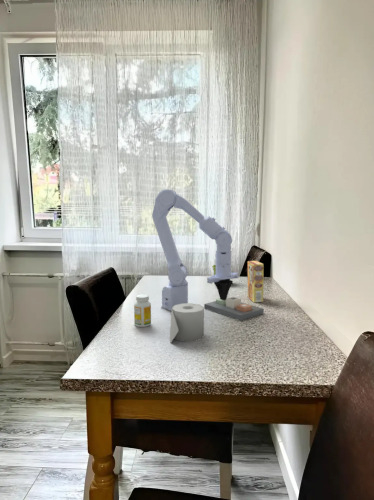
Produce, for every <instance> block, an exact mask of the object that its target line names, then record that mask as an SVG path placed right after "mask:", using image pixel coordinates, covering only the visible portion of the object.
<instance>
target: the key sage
mask: <svg viewBox="0 0 374 500" xmlns="http://www.w3.org/2000/svg"><path fill="white" fill-rule="evenodd" d="M215 301H216V304H219V305H223V306H224V305H226V300H221V299H220V298H217V299H215Z"/></svg>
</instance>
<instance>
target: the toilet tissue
mask: <svg viewBox="0 0 374 500" xmlns="http://www.w3.org/2000/svg"><path fill="white" fill-rule="evenodd" d="M170 315H171V317H170V327H169V328H170V329H169V342H170V343H172V342H173V340H174V339H175V340H176V341H181V342H196V341H200V340H202V339H203V338H204V335H205V309H204V306H203V305H201V304H197V303H192V302H191V303H189V302H188V303H183V304H178V305H174V306H173V307H172V311H171V314H170Z"/></svg>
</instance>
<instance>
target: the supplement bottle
mask: <svg viewBox="0 0 374 500" xmlns="http://www.w3.org/2000/svg"><path fill="white" fill-rule="evenodd" d="M149 299H150V296H149V295H148V294H145V293H144V294H143V293H142V294H137V295H136V297H135V300H136V301H135V302H134V305H133V307H134V308H133V310H134V311H133V313H134V315H133V316H134V326H135V327H139V328H146V327H149V326H151V324H152V304H151V302H150V301H149Z"/></svg>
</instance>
